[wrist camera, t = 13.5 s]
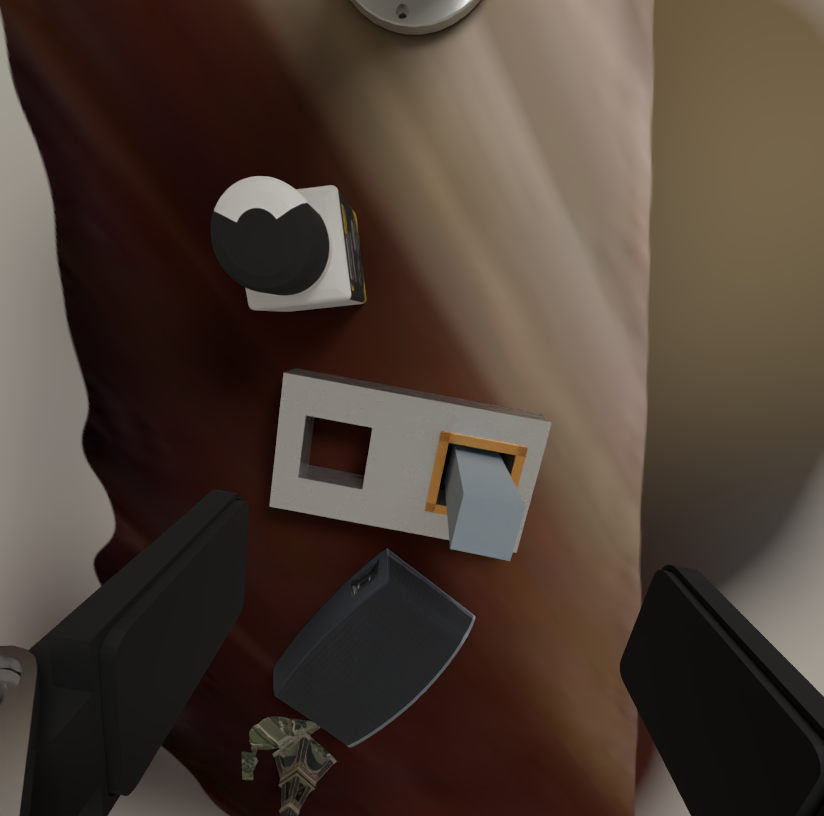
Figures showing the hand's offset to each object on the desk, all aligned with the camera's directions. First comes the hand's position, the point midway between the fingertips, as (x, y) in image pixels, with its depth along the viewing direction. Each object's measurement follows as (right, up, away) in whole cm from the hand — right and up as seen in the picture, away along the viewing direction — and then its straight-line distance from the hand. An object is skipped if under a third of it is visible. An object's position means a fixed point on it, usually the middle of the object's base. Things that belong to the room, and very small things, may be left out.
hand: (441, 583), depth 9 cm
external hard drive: (-5, -20, +32) cm, 39 cm away
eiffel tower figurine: (-13, -35, +36) cm, 52 cm away
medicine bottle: (-8, +16, +24) cm, 30 cm away
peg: (+5, -1, +27) cm, 27 cm away
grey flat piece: (-1, 0, +27) cm, 27 cm away
